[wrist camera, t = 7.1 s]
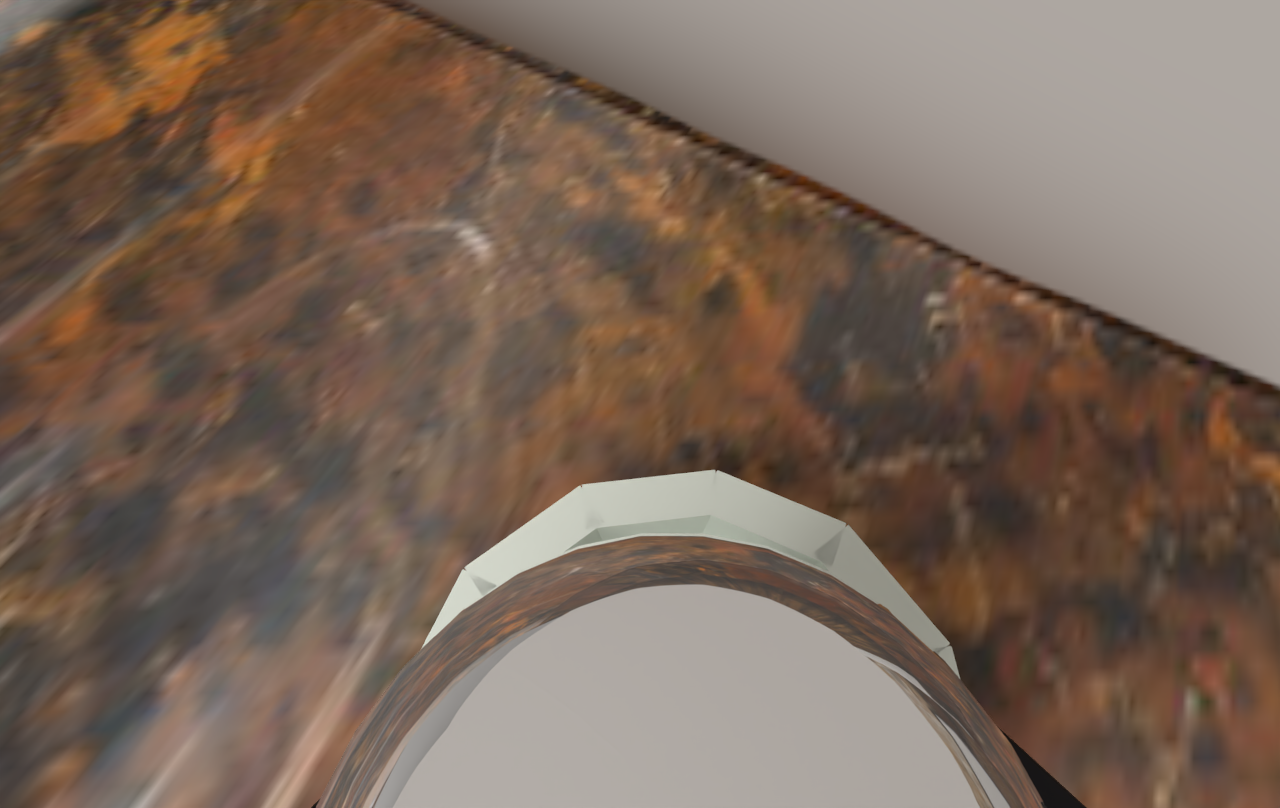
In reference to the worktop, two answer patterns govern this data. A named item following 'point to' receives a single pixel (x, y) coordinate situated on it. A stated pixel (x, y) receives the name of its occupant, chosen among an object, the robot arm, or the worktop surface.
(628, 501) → the bulb holder
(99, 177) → the worktop surface
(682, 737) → the light bulb
